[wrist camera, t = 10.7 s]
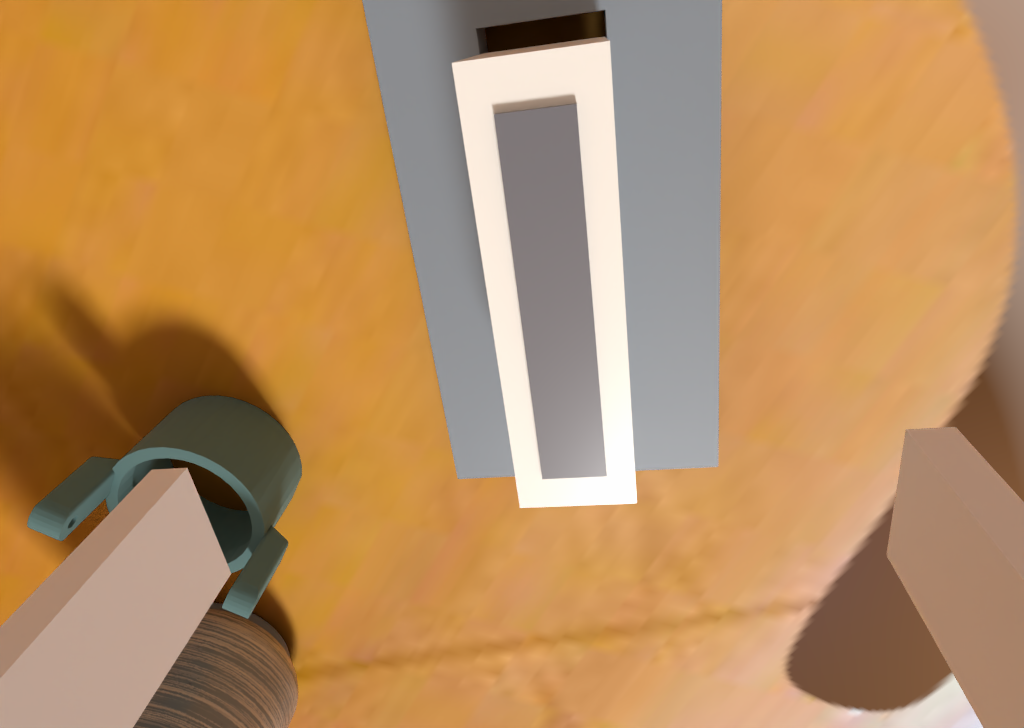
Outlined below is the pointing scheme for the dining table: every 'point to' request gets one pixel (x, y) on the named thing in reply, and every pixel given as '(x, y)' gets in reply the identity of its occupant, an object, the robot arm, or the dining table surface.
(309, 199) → the dining table surface
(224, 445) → the bracket
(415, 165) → the board
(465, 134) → the block
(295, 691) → the vase
